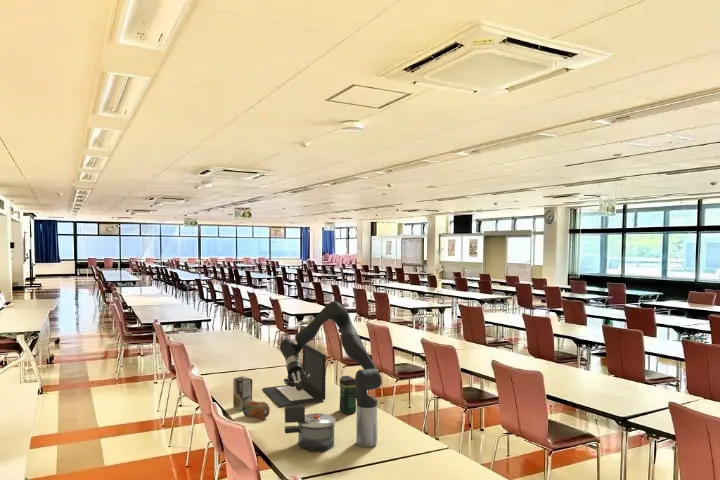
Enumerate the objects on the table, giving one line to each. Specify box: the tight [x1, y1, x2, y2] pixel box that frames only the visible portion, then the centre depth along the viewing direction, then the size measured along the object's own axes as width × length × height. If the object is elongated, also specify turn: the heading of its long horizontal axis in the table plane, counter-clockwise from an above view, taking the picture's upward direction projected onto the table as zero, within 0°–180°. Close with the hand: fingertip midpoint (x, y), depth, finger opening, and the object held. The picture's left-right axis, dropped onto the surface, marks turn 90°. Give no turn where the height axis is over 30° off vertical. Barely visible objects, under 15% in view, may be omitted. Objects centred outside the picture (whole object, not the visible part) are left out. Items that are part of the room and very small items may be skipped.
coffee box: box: [232, 375, 253, 412], centre depth 281 cm, size 9×6×16 cm
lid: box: [284, 404, 337, 428], centre depth 232 cm, size 22×17×7 cm
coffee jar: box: [339, 375, 357, 415], centre depth 278 cm, size 10×8×19 cm
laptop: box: [262, 343, 327, 408], centre depth 306 cm, size 37×27×27 cm
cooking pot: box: [284, 424, 335, 453], centre depth 232 cm, size 22×16×10 cm
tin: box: [242, 400, 271, 420], centre depth 267 cm, size 15×3×8 cm, turn 69°
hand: (299, 389), depth 239 cm, fingers closed
